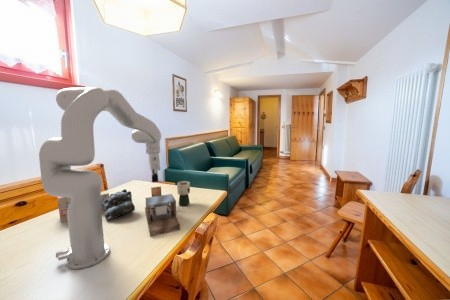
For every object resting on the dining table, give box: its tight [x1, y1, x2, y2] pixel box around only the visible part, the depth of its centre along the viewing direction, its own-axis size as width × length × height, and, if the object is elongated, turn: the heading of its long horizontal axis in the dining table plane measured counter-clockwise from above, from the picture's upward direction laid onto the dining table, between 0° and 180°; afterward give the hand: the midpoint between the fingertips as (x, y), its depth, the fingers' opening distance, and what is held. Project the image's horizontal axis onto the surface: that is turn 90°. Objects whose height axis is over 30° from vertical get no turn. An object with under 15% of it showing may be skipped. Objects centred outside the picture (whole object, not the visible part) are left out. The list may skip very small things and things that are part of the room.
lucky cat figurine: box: [104, 188, 136, 221], centre depth 101 cm, size 15×12×14 cm
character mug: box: [176, 180, 191, 206], centre depth 114 cm, size 11×7×13 cm, turn 10°
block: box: [155, 204, 167, 216], centre depth 95 cm, size 5×5×6 cm
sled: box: [150, 186, 172, 221], centre depth 100 cm, size 9×20×9 cm, turn 26°
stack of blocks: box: [56, 190, 110, 223], centre depth 103 cm, size 21×6×12 cm, turn 132°
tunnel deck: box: [144, 193, 181, 238], centre depth 95 cm, size 13×26×11 cm, turn 26°
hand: (155, 181), depth 113 cm, fingers closed
